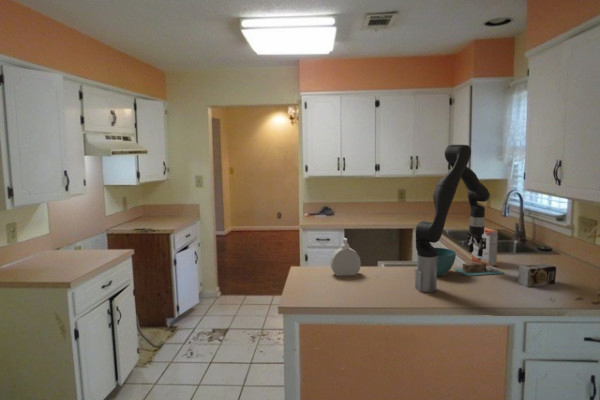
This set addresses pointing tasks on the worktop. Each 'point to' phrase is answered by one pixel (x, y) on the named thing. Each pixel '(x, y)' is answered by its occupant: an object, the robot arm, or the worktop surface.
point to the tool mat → (477, 272)
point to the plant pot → (444, 260)
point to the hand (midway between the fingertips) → (475, 254)
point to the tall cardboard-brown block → (478, 267)
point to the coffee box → (537, 275)
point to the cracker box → (487, 248)
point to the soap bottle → (345, 261)
